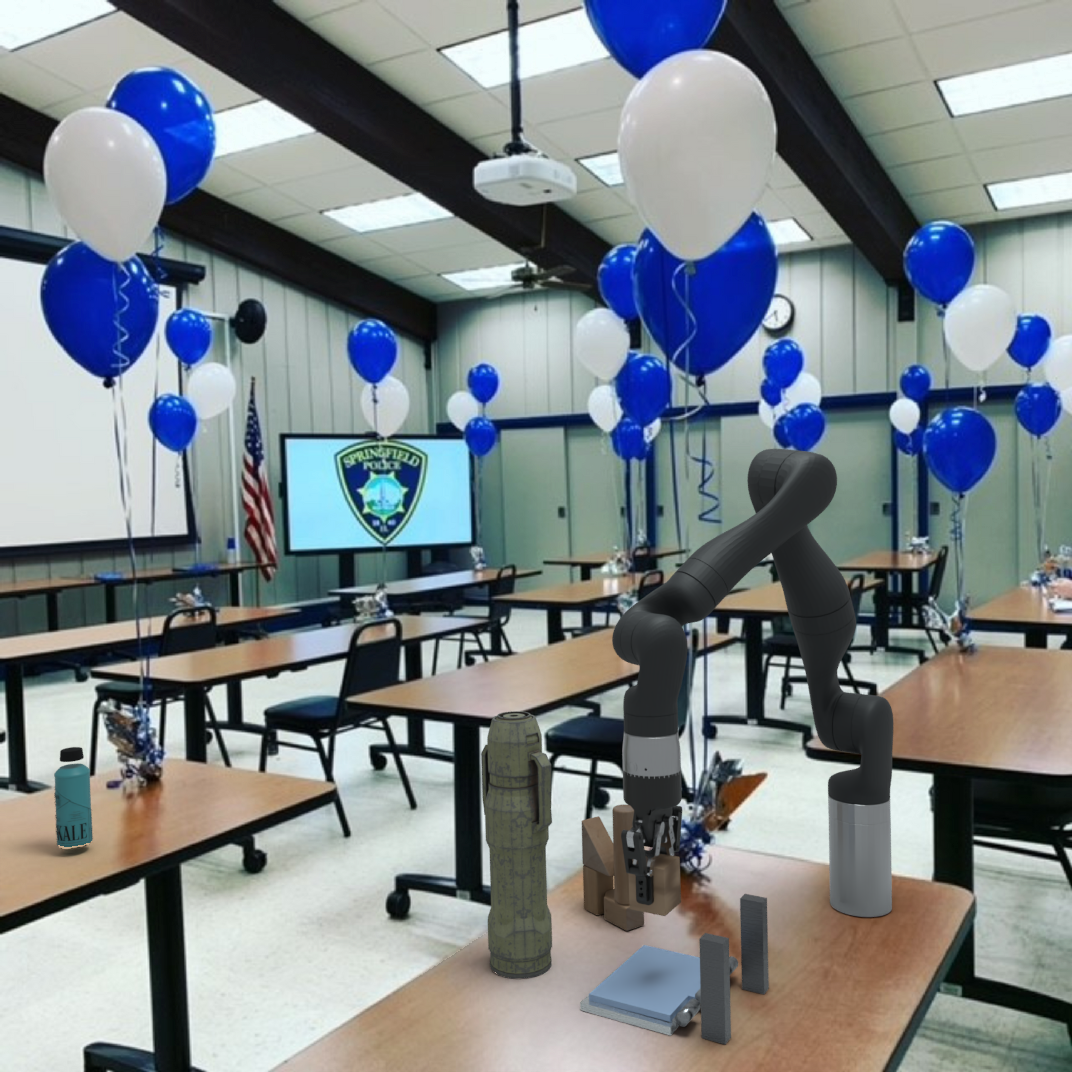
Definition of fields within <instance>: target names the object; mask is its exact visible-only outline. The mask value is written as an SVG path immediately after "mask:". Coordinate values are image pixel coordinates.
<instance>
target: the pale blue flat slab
mask: <svg viewBox="0 0 1072 1072" xmlns="http://www.w3.org/2000/svg"><path fill="white" fill-rule="evenodd" d="M588 995H589V1000H590V1001H594V1002H597V1003H601V1004H605V1005H609V1006H612V1007H616V1008H620V1009H624V1010H627V1011H631V1012H635V1013H639V1014H642V1015H646V1016H650V1017H654V1018H657V1019H661V1020H665V1021H669V1022H671V1021H672V1019H673V1018H674V1017H675V1016H676V1014H677V1013H678V1012H679V1011H680V1010H681V1009H682V1008H683V1007H684V1006H685V1005H686V1003H687V1002H688V1001H689V1000H690V999H696V1000H698V1001H699V1003H700V1005H701V988H700V956H694V955H692V954H691V955H690V954H686V953H682V952H679V951H678V952H677V951H674V950H668V949H664V948H660V947H655V946H650V945H646V944H643V945H641V947H640V948H638V949H637V951H635V952H634V953H633V954H632V955H631V956H630V957H629V958H628V959H626V960H625V961H623V963H622V964H620V965H619V966H618V967H617V968H616V969H615V970H614V971H613V972H611V974H610V975H609V976H608V977H606V978H605V979H603V981H601V982H600V984H598V985H597V986H596V987H595V988H594V989H593V990H592V991H590V992H589V993H588Z"/></svg>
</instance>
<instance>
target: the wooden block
mask: <svg viewBox="0 0 1072 1072" xmlns="http://www.w3.org/2000/svg"><path fill="white" fill-rule="evenodd" d="M633 816H634V809H633V808H632V807H631V806H630V805H628V804H618V805H614V806H613V808H612V838H611V836H610V834H609V833H608V831H607V829H606V827H605V824H604V822H603V821H602V819H601V817H600V816H594V817H590V818H586V819H583V820H581V849H582V850H581V851H582V886H583V909H584V910H586V911H587V912H590V913H591V914H592V915H593V914H594V915H595V916H600V915H602V914H603V916H604V917H603V918H604V919H605V921H607V922H609V923H611V924H612V925H615V926H616V927H619V928H620V929H622V930H624V931H627V932H628V931H631V930H633V929H636V928H639V927H642V926H644V925H645V912H641V911H636V910H631V909H630V905H629V875H628V873H626V868H625V861H624V854H623V847H622V840H621V833H622V831H623V830H629V831H630V830H631V828H632V821H633ZM632 860H633V859H632Z"/></svg>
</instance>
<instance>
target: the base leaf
mask: <svg viewBox="0 0 1072 1072" xmlns="http://www.w3.org/2000/svg"><path fill="white" fill-rule="evenodd" d="M739 907H740V908H739V912H740V913H739V915H740V918H739V919H740V955H741V956H740V957H741V958H740V961H741V968H740V969H741V990H744V991H748V992H752V993H756V994H760V995H765V994H766V993H767V992H768V990H769V989H770V987H769V984H770V983H769V981H770V980H769V979H770V977H769V932H768V929H769V928H768V897H765V896H759V895H753V894H749V893H748V894H747V893H744V894H743V895H742V896H741V897H740V898H739ZM698 940H699V942H698V943H699V957H700V988H701V1004H700V1003H699V1001H698V1000H696V999H690V1000H689V1001H688V1002H687V1003H686V1005H685V1006H684V1007H683V1008H682V1009H681V1010H680V1011H679V1012H678V1013H677V1014H676V1016H675V1017H674V1018H673V1019H672V1021H671V1022H669V1021H665V1020H661V1019H657V1018H654V1017H650V1016H646V1015H642V1014H639V1013H635V1012H631V1011H627V1010H624V1009H620V1008H616V1007H612V1006H609V1005H605V1004H601V1003H597V1002H594V1001H590V1000H589V994H588V995H587V996H586V997H584V999H582V1000H581V1001H580V1002H579V1005H580V1007H579V1008H580V1009H579V1010H580V1011H582V1012H586V1013H590V1014H593V1015H597V1016H600V1017H603V1018H607V1019H611V1020H614V1021H617V1022H620V1023H624V1024H627V1025H628V1024H629V1025H631V1026H635V1027H639V1028H642V1029H646V1030H650V1031H653V1032H656V1033H661V1034H664V1035H666V1036H670V1037H671V1036H672V1035H673V1033H675V1032H676V1030H677V1029H679V1027H686V1026H687V1025H688V1024H689V1023H690V1022H691V1020H693V1018H694V1017H695V1016H696V1015H697V1014H698V1013H699V1011H700V1027H701V1028H700V1029H701V1032H700V1033H701V1038H702V1039H704V1040H708V1041H710V1042H713V1043H717V1044H718V1043H719V1044H722V1045H727V1043H728V1042H729V1041H730V1039H731V1038H732V1023H731V1022H732V1021H731V1020H732V1019H731V1017H732V1016H731V974H732V973H734V972H735V970H736V969H737V968H738V967H739V961H738V959H737V958H736V957H735V956H733V955H731V956H730V937H727V936H721V935H717V934H713V933H708V932H704V933H703V935H701V937H699V939H698Z"/></svg>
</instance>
